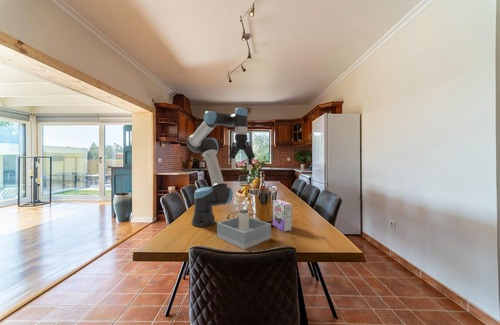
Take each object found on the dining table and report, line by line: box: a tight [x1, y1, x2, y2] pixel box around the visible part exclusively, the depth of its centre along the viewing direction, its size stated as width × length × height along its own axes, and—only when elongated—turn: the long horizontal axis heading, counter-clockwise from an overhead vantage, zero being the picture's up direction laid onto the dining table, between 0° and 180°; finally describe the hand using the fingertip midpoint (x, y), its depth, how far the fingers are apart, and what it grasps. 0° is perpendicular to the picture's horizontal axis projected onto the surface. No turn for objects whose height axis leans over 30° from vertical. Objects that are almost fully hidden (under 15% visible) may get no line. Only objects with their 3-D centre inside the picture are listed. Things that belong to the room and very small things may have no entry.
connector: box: [238, 208, 250, 232], centre depth 118 cm, size 4×4×15 cm
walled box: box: [216, 216, 272, 250], centre depth 118 cm, size 22×20×8 cm
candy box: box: [272, 199, 293, 233], centre depth 134 cm, size 14×6×16 cm, turn 23°
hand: (241, 169), depth 130 cm, fingers open, 13 cm apart
